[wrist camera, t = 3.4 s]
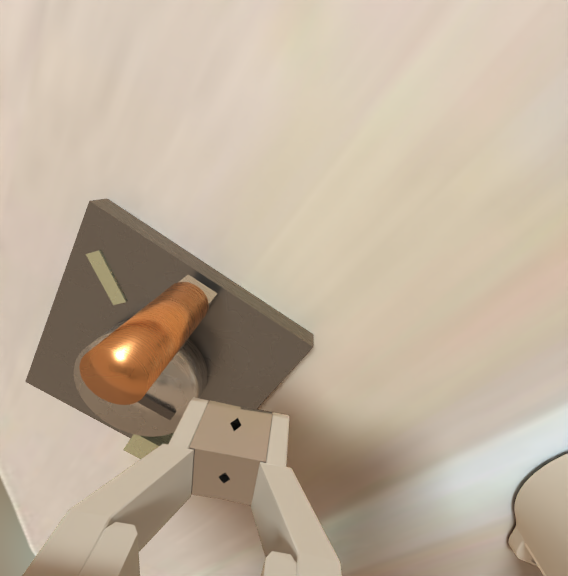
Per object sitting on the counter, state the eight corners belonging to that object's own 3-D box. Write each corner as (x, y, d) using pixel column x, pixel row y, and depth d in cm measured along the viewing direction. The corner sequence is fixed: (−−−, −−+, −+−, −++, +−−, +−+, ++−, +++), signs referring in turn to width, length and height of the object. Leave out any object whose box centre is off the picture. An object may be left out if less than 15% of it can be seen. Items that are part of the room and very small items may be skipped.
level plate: (313, 334, 20) (312, 364, 17) (203, 458, 26) (188, 495, 23) (107, 198, 18) (63, 204, 15) (42, 369, 24) (2, 398, 21)
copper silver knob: (267, 306, 18) (229, 415, 10) (178, 424, 22) (105, 559, 15) (154, 231, 16) (8, 287, 9) (86, 373, 21) (-45, 489, 14)
